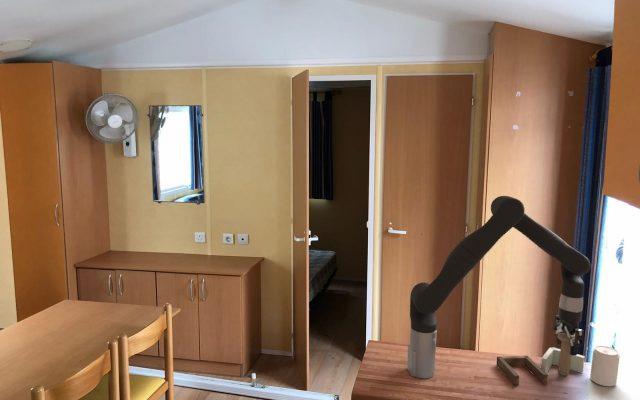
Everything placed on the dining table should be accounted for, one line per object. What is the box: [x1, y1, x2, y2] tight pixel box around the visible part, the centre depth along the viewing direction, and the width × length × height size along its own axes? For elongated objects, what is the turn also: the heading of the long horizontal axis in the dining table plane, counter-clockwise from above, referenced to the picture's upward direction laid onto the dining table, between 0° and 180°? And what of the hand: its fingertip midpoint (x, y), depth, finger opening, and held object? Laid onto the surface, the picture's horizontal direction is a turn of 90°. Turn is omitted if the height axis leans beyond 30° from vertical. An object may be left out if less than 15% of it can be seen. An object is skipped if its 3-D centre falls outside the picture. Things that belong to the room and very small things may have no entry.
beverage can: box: [589, 345, 621, 387], centre depth 172 cm, size 8×8×12 cm
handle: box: [558, 333, 575, 377], centre depth 177 cm, size 5×6×15 cm
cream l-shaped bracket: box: [540, 346, 586, 374], centre depth 182 cm, size 17×9×6 cm, turn 95°
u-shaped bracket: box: [496, 355, 549, 386], centre depth 177 cm, size 12×14×4 cm
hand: (566, 349), depth 176 cm, fingers open, 8 cm apart
